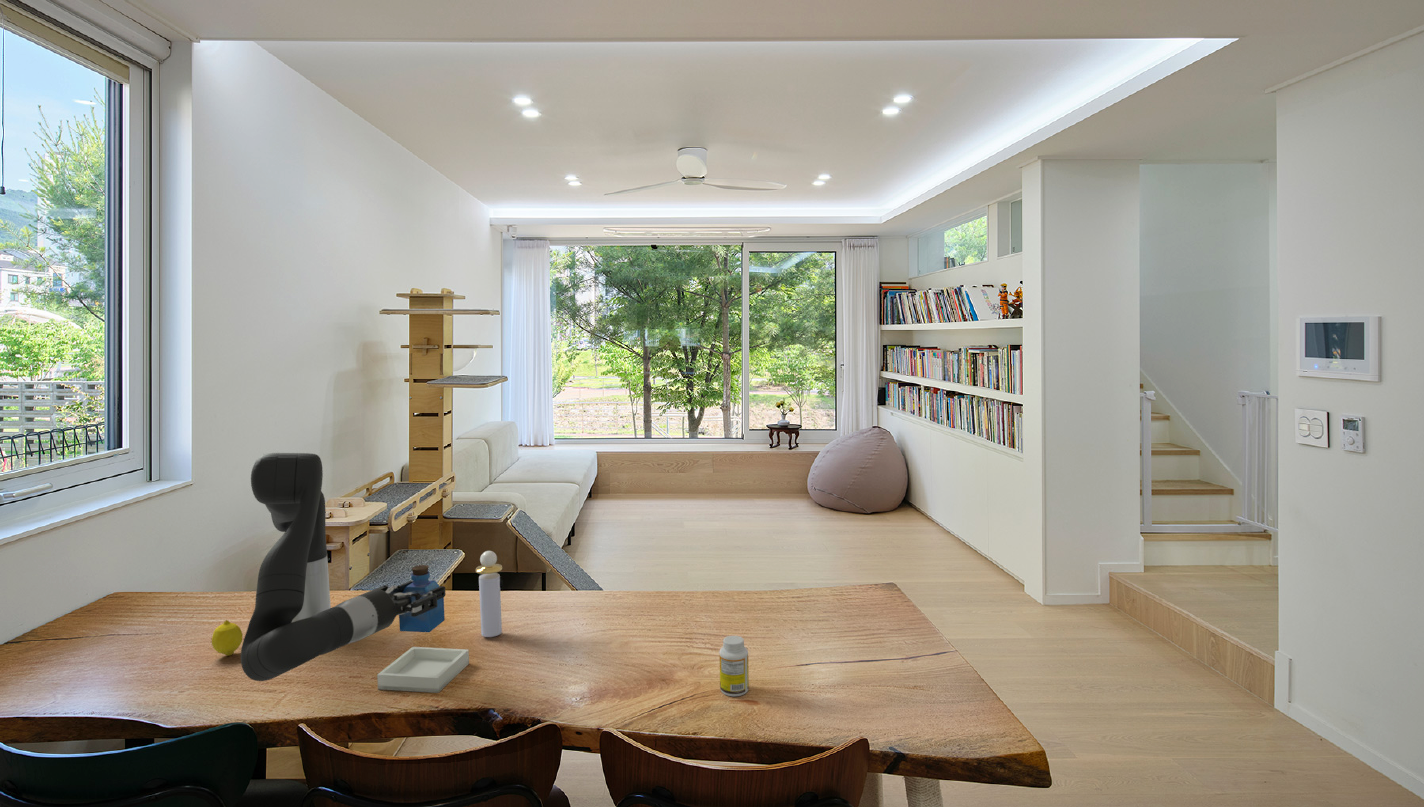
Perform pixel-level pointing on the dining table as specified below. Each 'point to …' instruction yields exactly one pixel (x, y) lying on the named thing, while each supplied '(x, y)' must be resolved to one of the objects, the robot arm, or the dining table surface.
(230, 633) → the fruit
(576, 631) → the dining table surface
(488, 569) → the perfume bottle
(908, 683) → the dining table surface
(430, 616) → the perfume bottle
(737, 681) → the supplement bottle
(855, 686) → the dining table surface
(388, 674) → the dish
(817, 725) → the dining table surface
